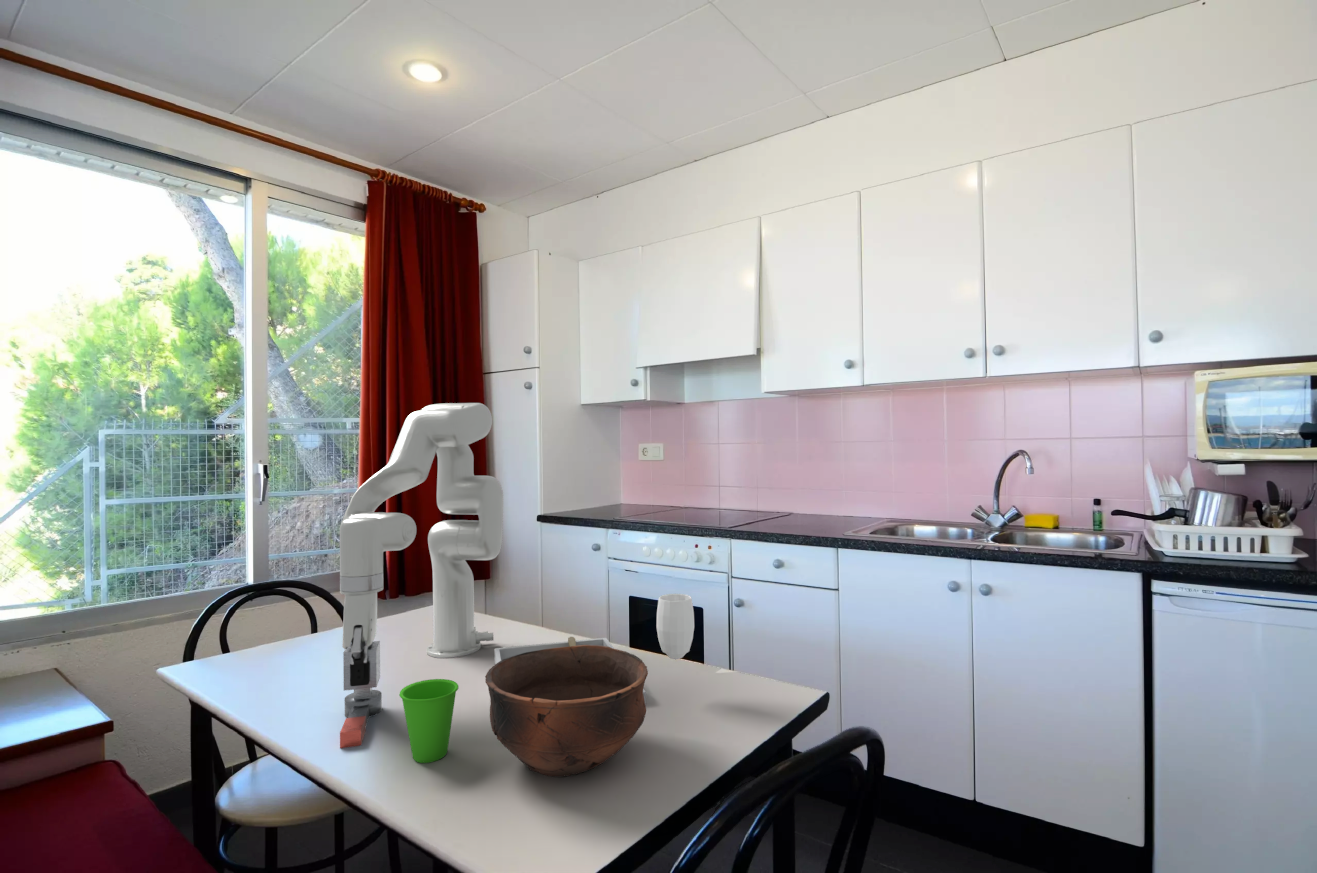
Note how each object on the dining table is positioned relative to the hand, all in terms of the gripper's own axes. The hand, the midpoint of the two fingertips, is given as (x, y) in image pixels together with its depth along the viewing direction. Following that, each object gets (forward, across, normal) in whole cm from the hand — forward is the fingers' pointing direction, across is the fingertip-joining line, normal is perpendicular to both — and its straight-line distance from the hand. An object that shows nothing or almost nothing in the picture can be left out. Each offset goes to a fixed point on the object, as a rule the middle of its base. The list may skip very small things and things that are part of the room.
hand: (362, 678), depth 126 cm
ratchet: (+6, 0, 0) cm, 6 cm away
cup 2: (+7, +16, +57) cm, 60 cm away
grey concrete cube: (+1, 0, 0) cm, 1 cm away
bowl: (+7, +32, +34) cm, 47 cm away
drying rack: (+6, -2, +38) cm, 39 cm away
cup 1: (+7, +23, +13) cm, 27 cm away
